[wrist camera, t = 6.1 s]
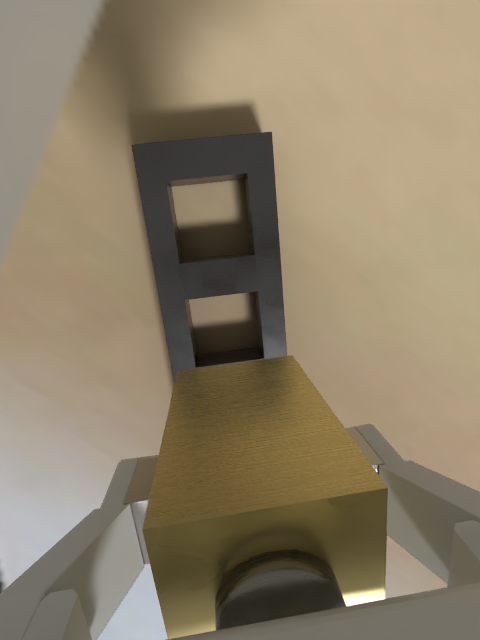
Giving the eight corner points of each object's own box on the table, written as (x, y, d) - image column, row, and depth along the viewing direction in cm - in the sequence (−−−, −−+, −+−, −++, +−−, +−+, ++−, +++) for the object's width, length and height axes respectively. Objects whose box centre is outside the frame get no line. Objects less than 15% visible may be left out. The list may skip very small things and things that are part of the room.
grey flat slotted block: (265, 142, 23) (271, 131, 20) (287, 445, 30) (294, 463, 27) (140, 154, 22) (131, 144, 20) (193, 459, 29) (192, 479, 27)
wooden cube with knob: (292, 355, 11) (406, 514, 5) (298, 452, 12) (398, 687, 6) (177, 371, 11) (135, 561, 4) (194, 468, 12) (179, 734, 5)
